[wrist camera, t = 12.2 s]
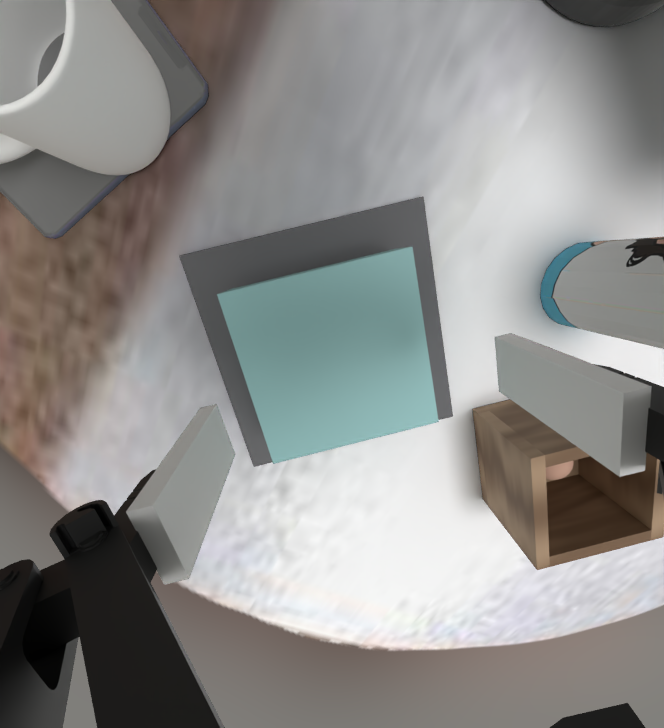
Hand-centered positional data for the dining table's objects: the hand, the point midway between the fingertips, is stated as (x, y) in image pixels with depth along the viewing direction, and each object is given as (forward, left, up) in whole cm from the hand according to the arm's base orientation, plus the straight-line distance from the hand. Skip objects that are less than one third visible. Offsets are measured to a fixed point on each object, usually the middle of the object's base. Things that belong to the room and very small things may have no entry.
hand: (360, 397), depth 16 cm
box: (+14, +16, -12) cm, 24 cm away
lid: (0, 0, -12) cm, 12 cm away
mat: (0, 0, -12) cm, 12 cm away
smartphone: (-18, -12, -13) cm, 25 cm away
